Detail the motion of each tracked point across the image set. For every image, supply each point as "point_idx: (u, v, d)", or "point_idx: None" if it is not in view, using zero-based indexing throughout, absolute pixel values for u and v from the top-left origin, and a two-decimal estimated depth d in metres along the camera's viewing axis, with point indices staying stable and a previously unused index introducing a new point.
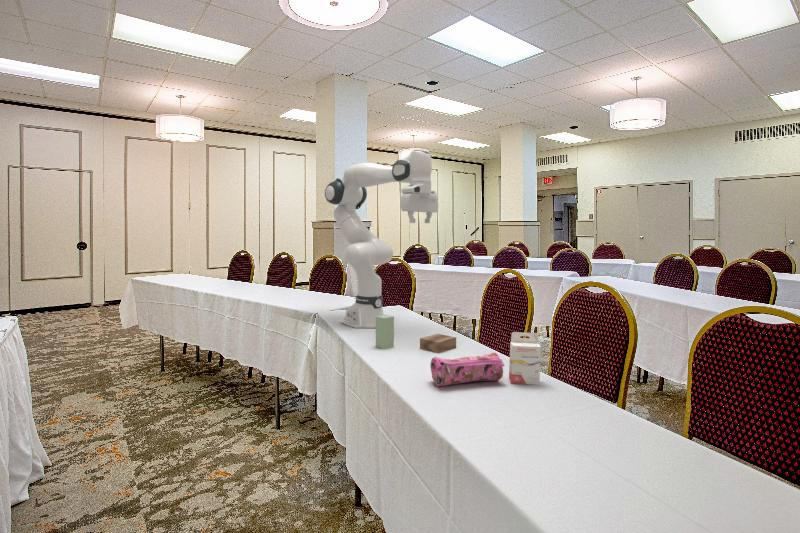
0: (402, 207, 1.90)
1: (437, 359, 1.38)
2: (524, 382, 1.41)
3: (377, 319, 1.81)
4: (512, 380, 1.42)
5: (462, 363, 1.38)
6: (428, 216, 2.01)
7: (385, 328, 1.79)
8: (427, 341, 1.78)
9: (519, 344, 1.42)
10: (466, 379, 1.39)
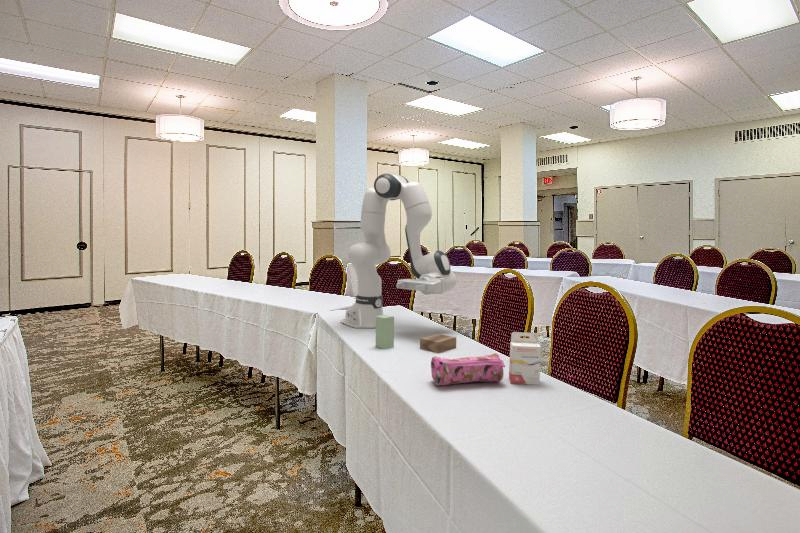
0: (435, 285, 1.87)
1: (436, 358, 1.39)
2: (524, 382, 1.41)
3: (377, 319, 1.81)
4: (512, 380, 1.42)
5: (461, 363, 1.38)
6: None
7: (385, 328, 1.79)
8: (427, 341, 1.78)
9: (519, 344, 1.42)
10: (465, 379, 1.39)
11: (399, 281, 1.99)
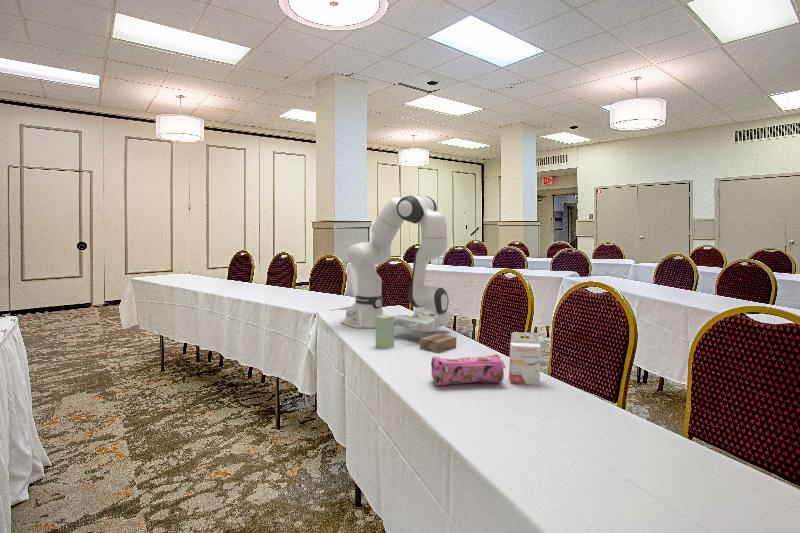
0: (428, 325, 1.86)
1: (436, 358, 1.39)
2: (524, 382, 1.41)
3: (377, 319, 1.81)
4: (512, 380, 1.42)
5: (461, 363, 1.38)
6: (394, 322, 1.94)
7: (385, 328, 1.79)
8: (427, 341, 1.78)
9: (519, 344, 1.42)
10: (465, 379, 1.39)
11: None
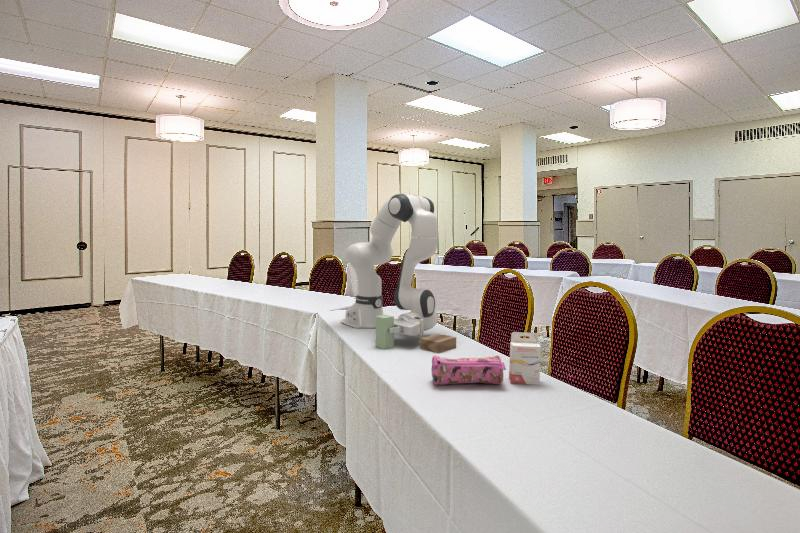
0: (413, 328, 1.79)
1: (435, 358, 1.40)
2: (524, 382, 1.41)
3: (377, 319, 1.81)
4: (512, 380, 1.42)
5: (459, 363, 1.38)
6: None
7: (385, 328, 1.79)
8: (427, 341, 1.78)
9: (519, 344, 1.42)
10: (464, 380, 1.39)
11: None
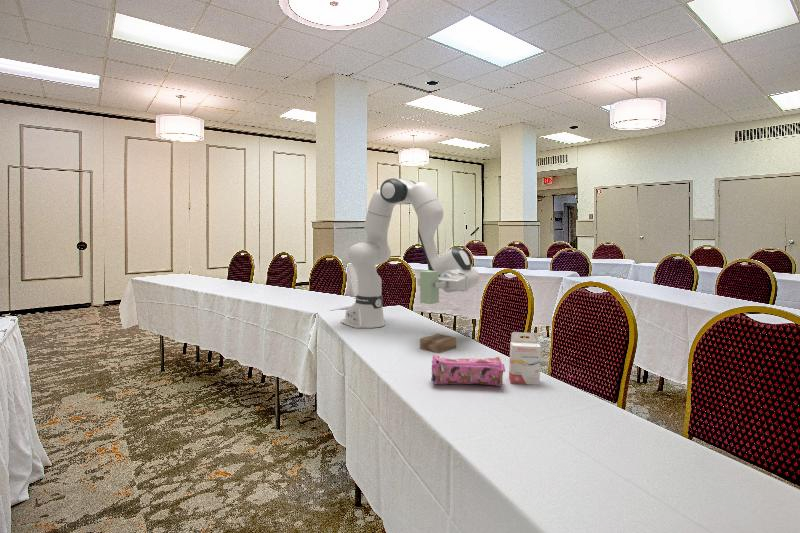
0: (459, 283, 1.76)
1: (434, 357, 1.40)
2: (524, 382, 1.41)
3: (422, 274, 1.78)
4: (512, 380, 1.42)
5: (458, 363, 1.38)
6: None
7: (431, 282, 1.76)
8: (427, 341, 1.78)
9: (519, 344, 1.42)
10: (463, 380, 1.38)
11: None
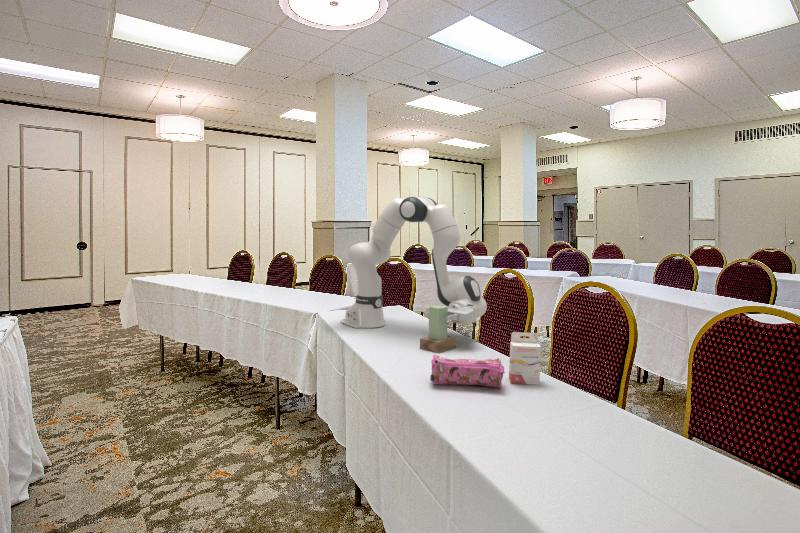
0: (468, 315, 1.77)
1: (434, 357, 1.40)
2: (524, 382, 1.41)
3: (431, 310, 1.79)
4: (512, 380, 1.42)
5: (457, 363, 1.37)
6: None
7: (439, 319, 1.77)
8: (427, 341, 1.78)
9: (519, 344, 1.42)
10: (462, 381, 1.38)
11: (428, 308, 1.89)
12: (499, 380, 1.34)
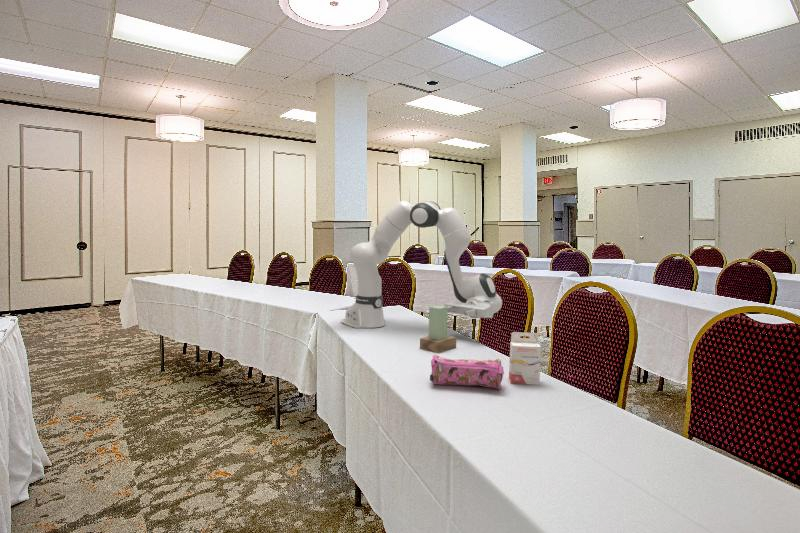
0: (485, 311, 1.86)
1: (433, 357, 1.40)
2: (524, 382, 1.41)
3: (431, 310, 1.79)
4: (512, 380, 1.42)
5: (456, 364, 1.37)
6: None
7: (439, 319, 1.77)
8: (427, 341, 1.78)
9: (519, 344, 1.42)
10: (461, 381, 1.37)
11: (446, 305, 1.97)
12: (498, 381, 1.33)
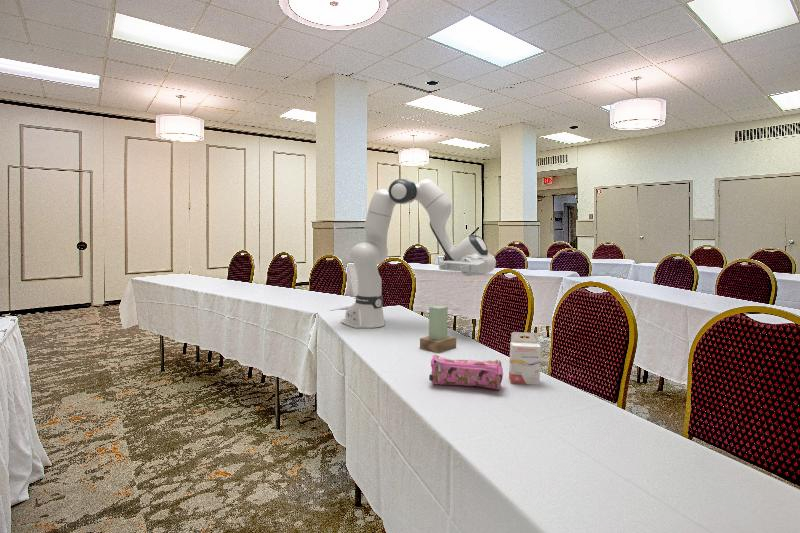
0: (479, 266, 1.88)
1: (433, 357, 1.40)
2: (524, 382, 1.41)
3: (431, 310, 1.79)
4: (512, 380, 1.42)
5: (456, 364, 1.37)
6: None
7: (439, 319, 1.77)
8: (427, 341, 1.78)
9: (519, 344, 1.42)
10: (461, 382, 1.37)
11: (441, 262, 1.99)
12: (497, 382, 1.32)
